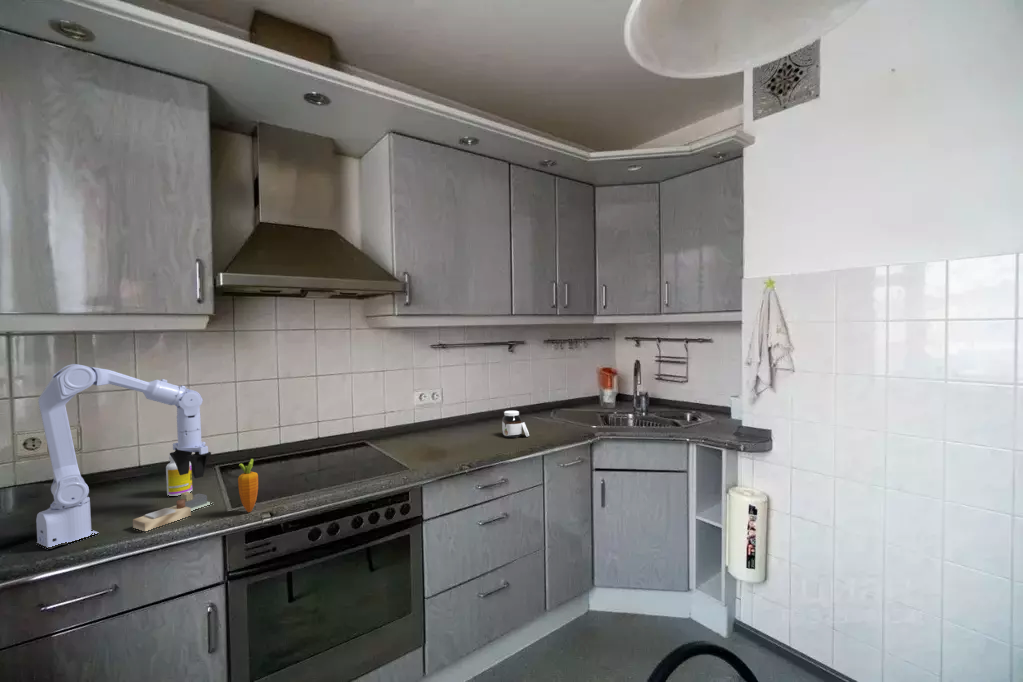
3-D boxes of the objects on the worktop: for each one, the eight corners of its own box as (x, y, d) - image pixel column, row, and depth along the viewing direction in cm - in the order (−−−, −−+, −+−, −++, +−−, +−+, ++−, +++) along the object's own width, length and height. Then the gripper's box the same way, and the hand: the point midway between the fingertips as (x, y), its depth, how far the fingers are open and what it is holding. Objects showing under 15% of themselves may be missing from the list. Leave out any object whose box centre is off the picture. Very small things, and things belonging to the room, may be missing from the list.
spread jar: (500, 435, 216) (499, 411, 215) (521, 432, 220) (521, 408, 220) (511, 440, 205) (510, 414, 204) (533, 437, 209) (532, 412, 209)
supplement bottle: (195, 493, 147) (193, 453, 147) (170, 499, 142) (168, 458, 142) (189, 488, 152) (187, 450, 151) (164, 494, 147) (163, 454, 146)
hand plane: (145, 532, 118) (144, 515, 118) (133, 528, 120) (132, 511, 120) (191, 516, 128) (190, 500, 128) (179, 513, 130) (178, 497, 130)
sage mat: (186, 513, 130) (186, 512, 130) (171, 509, 133) (171, 508, 133) (213, 504, 137) (213, 502, 137) (199, 500, 140) (199, 499, 140)
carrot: (240, 517, 126) (238, 463, 125) (238, 512, 130) (236, 459, 129) (260, 513, 129) (258, 460, 128) (258, 507, 133) (256, 456, 132)
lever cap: (185, 510, 131) (184, 496, 131) (177, 508, 133) (176, 494, 133) (207, 503, 137) (206, 489, 137) (199, 501, 138) (198, 487, 138)
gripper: (218, 429, 135) (220, 474, 135) (189, 425, 141) (191, 469, 142) (192, 434, 128) (194, 482, 129) (164, 430, 135) (166, 475, 135)
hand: (191, 475), depth 135 cm, fingers open, 7 cm apart
